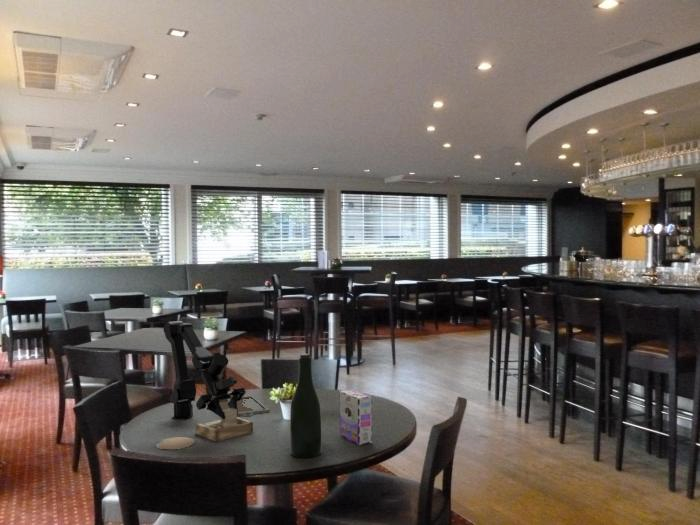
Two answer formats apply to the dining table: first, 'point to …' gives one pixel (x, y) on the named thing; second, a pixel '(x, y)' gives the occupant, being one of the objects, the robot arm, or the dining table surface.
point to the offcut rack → (218, 433)
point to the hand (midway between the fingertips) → (230, 417)
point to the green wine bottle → (305, 414)
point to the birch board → (229, 418)
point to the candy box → (356, 417)
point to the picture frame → (244, 410)
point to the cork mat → (176, 443)
